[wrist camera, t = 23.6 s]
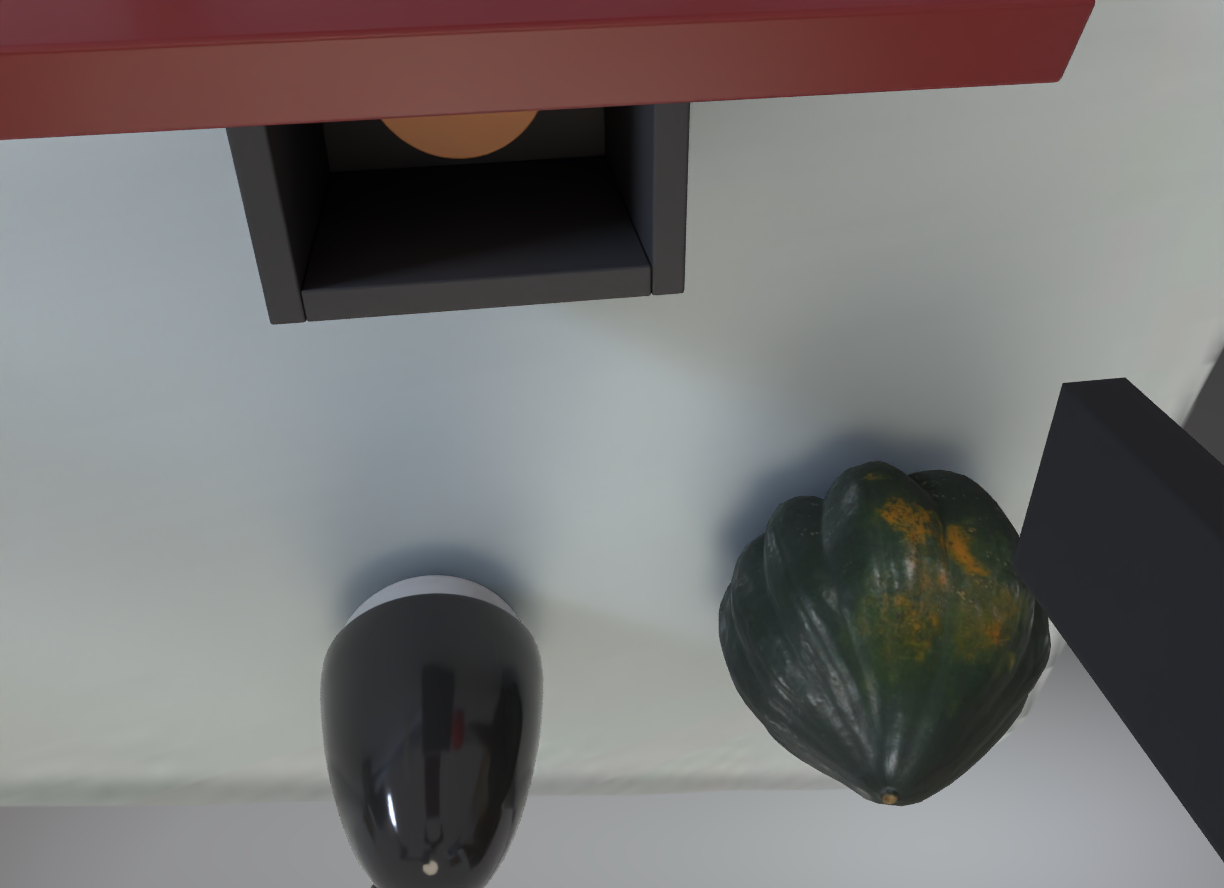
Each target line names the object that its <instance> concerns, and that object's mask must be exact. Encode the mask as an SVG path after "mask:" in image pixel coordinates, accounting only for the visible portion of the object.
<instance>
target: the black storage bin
mask: <svg viewBox="0 0 1224 888" xmlns="http://www.w3.org/2000/svg"><path fill="white" fill-rule="evenodd" d="M689 118H690V102H685V103H667V104H648V105H630V106H612V107H594V108H575V109H557V110H539V111H538V113H537V115H536V116H535V118H534V120H533V121H532V122H531V124H530V125H529V126H528V127H527V129H526V130H525V131H524V132H523V133H522V134H521V135H520V136H519V137H518V138H516V139H515V140H514V141H512V142H511V143H510V144H508V145H506V146H505V147H503V148H501V149H499V150H497V151H495V152H492V153H490V154H487V155H483V156H479V157H475V158H467V159H451V158H444V157H439V156H435V155H431V154H428V153H425V152H423V151H420V150H418V149H416V148H414V147H412V146H411V145H409V144H407V143H406V142H404V141H403V140H402V139H400V138H399V137H397V136H396V135H395V134H394V133H393V132H392V131H391V130H390V129H389V128H388V127H387V126H386V125H385V124H384V123H383V121H382V120H381V119H374V120H356V121H338V122H320V123H301V124H283V125H265V126H247V127H228V128H226V131H227V136H228V140H229V144H230V149H231V153H232V157H233V162H234V166H235V170H236V175H237V179H238V183H239V188H240V192H241V197H242V201H243V205H244V210H245V214H246V218H247V223H248V227H249V231H250V236H251V240H252V245H253V249H254V253H255V258H256V262H257V266H258V271H259V275H260V279H261V284H262V288H263V293H264V297H265V301H266V306H267V310H268V314H269V319H270V322H271V324H273V325H274V324H287V323H300V322H305V321H306V319H307V321H310V322H311V321H324V320H337V319H350V318H363V317H376V316H389V315H402V314H415V313H428V312H442V311H455V310H468V309H481V308H494V307H507V306H520V305H533V304H546V303H560V302H573V301H586V300H599V299H612V298H625V297H638V296H649V295H650V294H651V293H652V295H664V294H677V293H683V292H684V283H685V250H686V217H687V184H688V151H689Z"/></svg>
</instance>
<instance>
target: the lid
mask: <svg viewBox="0 0 1224 888" xmlns="http://www.w3.org/2000/svg"><path fill="white" fill-rule="evenodd" d="M1094 5H1095V0H0V140H9V139H27V138H46V137H64V136H82V135H100V134H119V133H137V132H155V131H173V130H192V129H210V128H228V127H247V126H265V125H283V124H301V123H320V122H338V121H356V120H374V119H393V118H411V117H429V116H447V115H466V114H484V113H502V112H520V111H539V110H557V109H575V108H594V107H612V106H630V105H648V104H667V103H685V102H703V101H721V100H740V99H758V98H776V97H794V96H813V95H831V94H849V93H867V92H886V91H904V90H922V89H940V88H959V87H977V86H995V85H1014V84H1032V83H1050V82H1057V81H1059V80H1060V79H1061V78H1062V76H1063V73H1064V71H1065V69H1066V67H1067V65H1068V62H1069V60H1070V58H1071V56H1072V54H1073V51H1074V49H1075V47H1076V45H1077V43H1078V40H1079V38H1080V36H1081V34H1082V32H1083V29H1084V27H1085V25H1086V23H1087V21H1088V18H1089V16H1090V14H1091V12H1092V10H1093V8H1094Z"/></svg>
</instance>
